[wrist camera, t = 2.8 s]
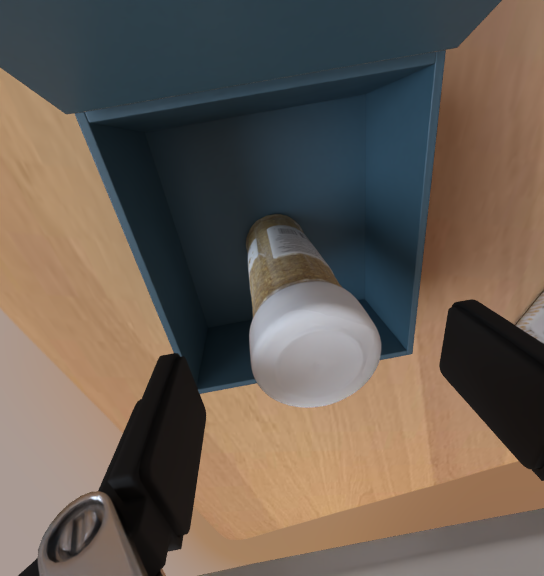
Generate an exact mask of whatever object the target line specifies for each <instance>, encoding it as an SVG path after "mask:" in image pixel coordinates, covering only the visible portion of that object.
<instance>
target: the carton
mask: <svg viewBox="0 0 544 576" xmlns="http://www.w3.org/2000/svg"><path fill="white" fill-rule="evenodd" d="M445 53H446V50H441V51H436V52H429V53H423V54H418V55H412V56H406V57H400V58H394V59H388V60H383V61H377V62H371V63H365V64H359V65H353V66H347V67H342V68H336V69H330V70H324V71H318V72H312V73H307V74H301V75H295V76H289V77H283V78H277V79H271V80H266V81H260V82H254V83H248V84H242V85H236V86H231V87H225V88H219V89H213V90H207V91H201V92H195V93H190V94H184V95H178V96H172V97H166V98H160V99H155V100H149V101H143V102H137V103H131V104H125V105H119V106H114V107H108V108H102V109H96V110H90V111H86V112H79V113H75V116H76V118H77V121H78V123H79V126H80V128H81V130H82V133H83V135H84V138H85V140H86V142H87V145H88V147H89V150H90V152H91V154H92V157H93V159H94V162H95V164H96V166H97V169H98V171H99V174H100V176H101V178H102V181H103V183H104V186H105V188H106V190H107V193H108V195H109V198H110V200H111V203H112V205H113V207H114V210H115V212H116V215H117V217H118V219H119V222H120V224H121V227H122V229H123V231H124V234H125V236H126V239H127V241H128V243H129V246H130V248H131V251H132V253H133V255H134V258H135V260H136V263H137V265H138V267H139V270H140V272H141V275H142V277H143V279H144V282H145V284H146V287H147V289H148V292H149V294H150V296H151V299H152V301H153V304H154V306H155V308H156V311H157V313H158V316H159V318H160V320H161V323H162V325H163V328H164V330H165V332H166V335H167V337H168V340H169V342H170V344H171V347H172V349H173V352H174V353H178V354H179V355H180V357H181V356H184V357H185V358H186V360H187V363H188V366H189V368H190V371H191V373H192V376H193V378H194V381H195V384H196V386H197V389H198V391H199V394H202V393H207V392H212V391H218V390H223V389H228V388H234V387H239V386H244V385H250V384H255V383H257V382H256V380H255V378H254V375H253V372H252V367H251V358H250V344H249V332H250V326H251V323H252V320H253V307H252V297H251V291H250V281H249V270H248V253H247V249H246V238H247V235H248V233H249V230H250V228H251V227H252V226H253V224H254V223H255V222H256V221H257V220H259V219H261V218H263V217H265V216H267V215H273V214H281V215H286V216H288V217H290V218H291V219H293V220H295V221H296V222H297V223H298V224H299V225H300V227H301V228H302V230H303V232H304V234H305V235H306V237H307V238H308V239H309V240H310V242H311V243H312V244H313V246H314V247H315V248H316V250H317V251H318V252H319V254H320V255H321V256H322V258H323V259H324V260H325V262H326V263H327V264H328V266H329V267H330V269H331V270H332V272H333V274H334V276H335V278H336V279H337V281H338V282H339V284H340V285H341V286H342V288H343V289H345V290H347V291H348V292H350V293H351V294H352V295H353V296H354V297H355V298H356V299H357V300H358V302H359V303H360V304H361V305H362V307H363V308H364V310H365V311H366V312H367V314H368V315H369V317H370V318H371V320H372V321H373V323H374V324H375V326H376V328H377V330H378V333H379V335H380V340H381V355H380V360H383V359H388V358H394V357H399V356H404V355H410V354H412V352H413V343H414V334H415V325H416V316H417V307H418V298H419V289H420V280H421V271H422V262H423V253H424V244H425V234H426V225H427V216H428V207H429V198H430V189H431V180H432V171H433V162H434V153H435V144H436V135H437V126H438V117H439V108H440V99H441V90H442V80H443V71H444V62H445Z"/></svg>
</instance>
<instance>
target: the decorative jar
mask: <svg viewBox="0 0 544 576" xmlns="http://www.w3.org/2000/svg"><path fill="white" fill-rule="evenodd" d="M515 326H517V327H519V328H520V329H522V330H523V331H525V332H526V333H528V334H529V335H531V336H533V337H534V338H536V339H537V340H539V341H540V342H542V343H544V292H543V293H542V294H541V295H540V296H539V297H538V298H537V300H536V301H535V302H534V303H533V305H532V306H531V307H530V308H529V309H528V311H527V312H526V313H525V314H524V316H523V317H522V318H521V319H520V320H519V321H518V322H517V324H516V325H515Z"/></svg>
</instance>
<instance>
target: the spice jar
mask: <svg viewBox="0 0 544 576" xmlns="http://www.w3.org/2000/svg"><path fill="white" fill-rule="evenodd" d="M246 249H247V253H248V270H249V281H250V291H251V297H252V307H253V320H252V323H251V326H250V332H249V344H250V358H251V367H252V372H253V375H254V378H255V380H256V382H257V383H258V385H259V386H260V388H261V389H262V390H263V391H264V392H265V393H266V394H267V395H268V396H270V397H271V398H273V399H275V400H276V401H279V402H281V403H284V404H287V405H290V406H295V407H305V408H308V407H320V406H325V405H329V404H332V403H335V402H338V401H340V400H343V399H345V398H347V397H348V396H350V395H352V394H353V393H355V392H356V391H358V390H359V389H360V388H361V387H362V386H364V384H365V383H366V382H367V381H368V380H369V379H370V378H371V376H372V375H373V373H374V372H375V370H376V368H377V366H378V363H379V360H380V355H381V340H380V335H379V333H378V330H377V328H376V326H375V324H374V323H373V321H372V320H371V318H370V317H369V315H368V314H367V312H366V311H365V310H364V308H363V307H362V305H361V304H360V303H359V302H358V300H357V299H356V298H355V297H354V296H353V295H352V294H351V293H350V292H348V291H347V290H345V289H343V288H342V286H341V285H340V284H339V282H338V281H337V279H336V278H335V276H334V274H333V272H332V270H331V269H330V267H329V266H328V264H327V263H326V262H325V260H324V259H323V258H322V256H321V255H320V254H319V252H318V251H317V250H316V248H315V247H314V246H313V244H312V243H311V242H310V240H309V239H308V238H307V237H306V235H305V234H304V232H303V230H302V228H301V227H300V225H299V224H298V223H297V222H296V221H295V220H293V219H291V218H290V217H288V216H286V215H281V214H273V215H267V216H265V217H263V218H261V219H259V220H257V221H256V222H255V223H254V224H253V226H252V227H251V228H250V230H249V233H248V235H247V238H246Z"/></svg>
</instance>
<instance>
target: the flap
mask: <svg viewBox="0 0 544 576" xmlns="http://www.w3.org/2000/svg"><path fill="white" fill-rule="evenodd" d="M501 1H502V0H0V68H2V69H3V70H5V71H6V72H7V73H9V74H10V75H12V76H13V77H14V78H16V79H17V80H19V81H20V82H21V83H23V84H24V85H26V86H27V87H29V88H30V89H31V90H33V91H34V92H36V93H37V94H38V95H40V96H41V97H43V98H44V99H45V100H47V101H48V102H50V103H51V104H52V105H54V106H55V107H57V108H58V109H59V110H61V111H62V112H64V113H65V114H72V113H78V112H84V111H89V110H95V109H101V108H107V107H113V106H119V105H125V104H130V103H136V102H142V101H148V100H154V99H160V98H165V97H171V96H177V95H183V94H189V93H195V92H201V91H206V90H212V89H218V88H224V87H230V86H236V85H241V84H247V83H253V82H259V81H265V80H271V79H277V78H282V77H288V76H294V75H300V74H306V73H312V72H317V71H323V70H329V69H335V68H341V67H347V66H353V65H358V64H364V63H370V62H376V61H382V60H388V59H393V58H399V57H405V56H411V55H417V54H423V53H429V52H434V51H440V50H446V49H452V48H457V47H458V46H459V45H460V44H461V43H462V42H463V41H464V40H465V39H466V38H467V37H468V36H469V35H470V33H471V32H472V31H473V30H474V29H475V28H476V27H477V26H478V25H479V24H480V23H481V22H482V21H483V20H484V19H485V18H486V17H487V16H488V15H489V13H490V12H491V11H492V10H493V9H494V8H495V7H496V6H497V5H498V4H499V3H500V2H501Z"/></svg>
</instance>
